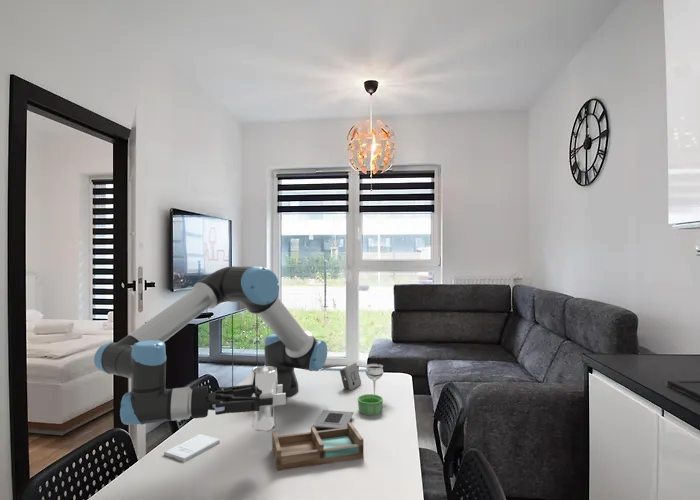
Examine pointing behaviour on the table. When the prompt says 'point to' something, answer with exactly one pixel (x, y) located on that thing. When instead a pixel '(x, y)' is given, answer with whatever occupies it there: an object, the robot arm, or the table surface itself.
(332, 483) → the table surface
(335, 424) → the electrical outlet
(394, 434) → the table surface
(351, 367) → the electrical switch
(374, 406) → the ramekin
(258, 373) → the chrome pint tumbler
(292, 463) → the caddy
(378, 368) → the wineglass
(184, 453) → the external hard drive
